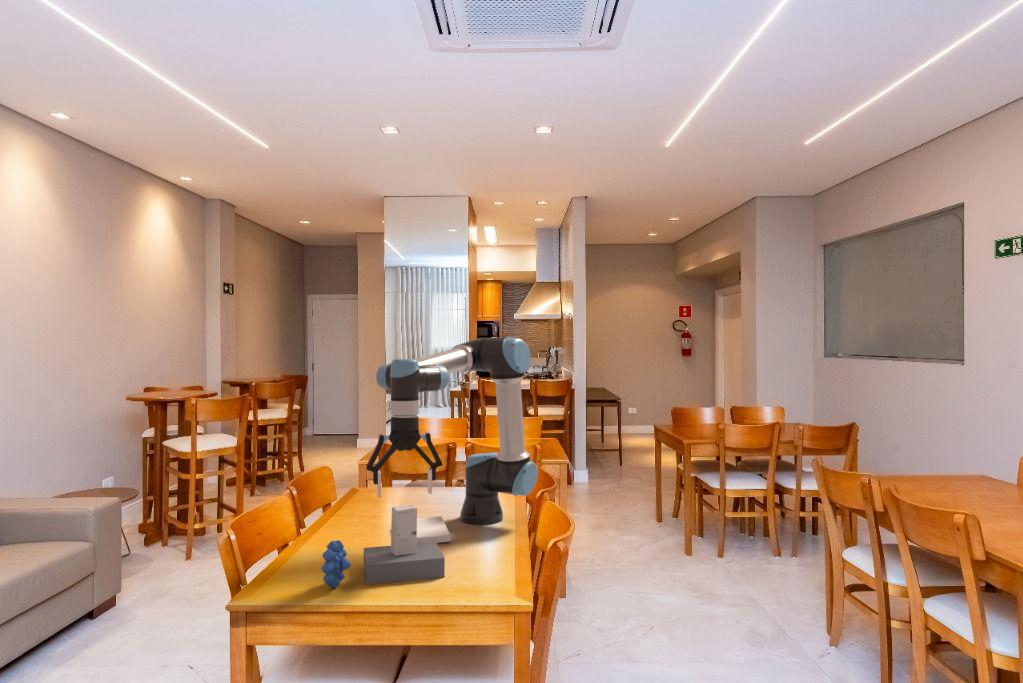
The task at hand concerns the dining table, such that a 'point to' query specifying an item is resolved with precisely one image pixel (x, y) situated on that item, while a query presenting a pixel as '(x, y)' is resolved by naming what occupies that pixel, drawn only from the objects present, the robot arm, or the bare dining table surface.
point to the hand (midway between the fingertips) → (404, 494)
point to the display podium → (403, 564)
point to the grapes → (334, 563)
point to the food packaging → (432, 530)
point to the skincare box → (404, 530)
